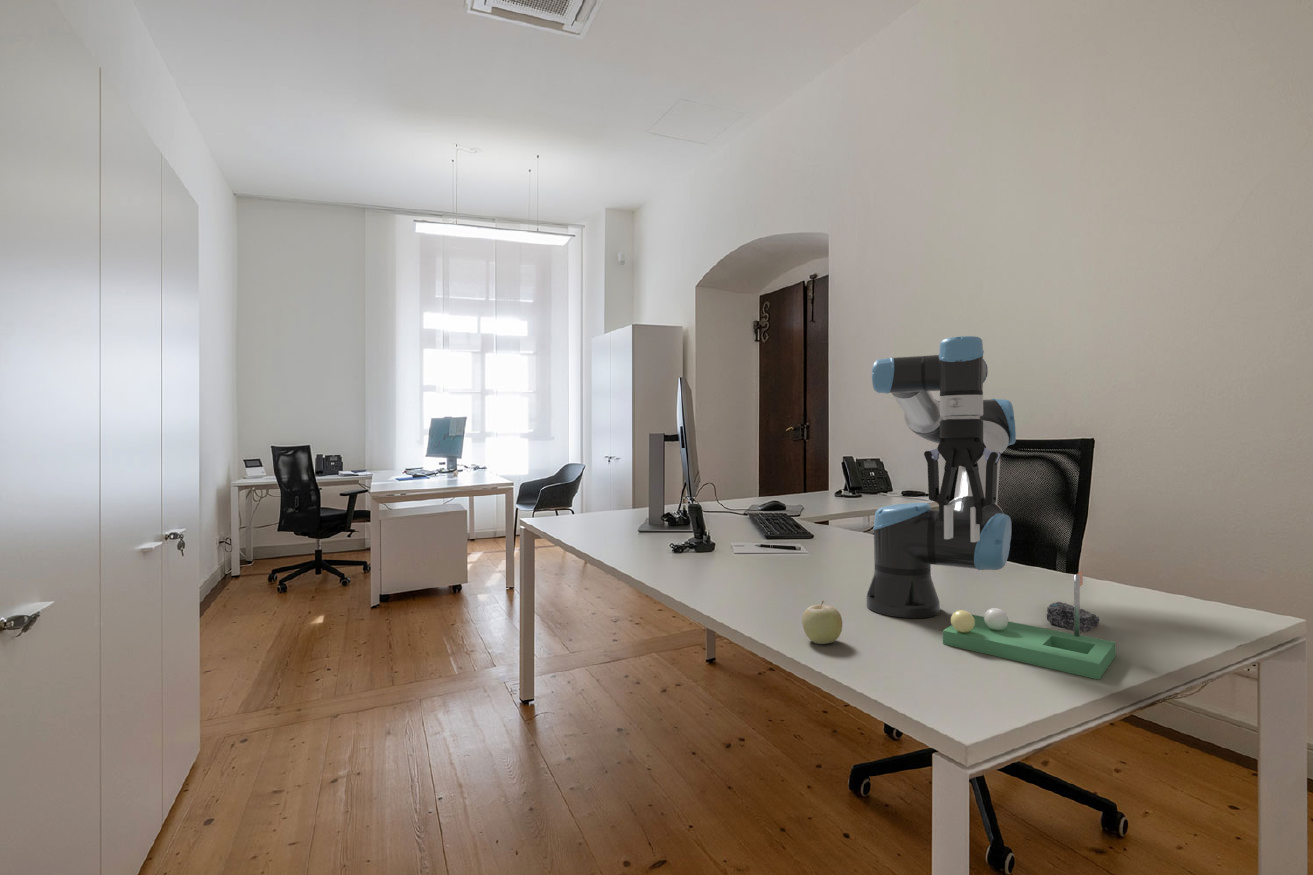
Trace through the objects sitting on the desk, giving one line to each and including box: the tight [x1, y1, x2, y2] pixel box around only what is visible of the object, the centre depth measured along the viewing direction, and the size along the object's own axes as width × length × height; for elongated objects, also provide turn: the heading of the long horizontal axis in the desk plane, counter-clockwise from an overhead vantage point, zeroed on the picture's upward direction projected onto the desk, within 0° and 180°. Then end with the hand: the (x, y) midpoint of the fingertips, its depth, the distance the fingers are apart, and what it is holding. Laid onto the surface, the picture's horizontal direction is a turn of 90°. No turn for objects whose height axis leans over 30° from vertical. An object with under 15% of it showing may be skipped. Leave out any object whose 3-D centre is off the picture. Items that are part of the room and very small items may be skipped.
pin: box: [1073, 570, 1084, 637], centre depth 113 cm, size 1×4×11 cm, turn 135°
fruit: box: [801, 600, 843, 645], centre depth 118 cm, size 8×7×8 cm
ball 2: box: [983, 607, 1009, 630], centre depth 115 cm, size 4×4×4 cm
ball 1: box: [950, 609, 975, 633], centre depth 114 cm, size 4×4×4 cm
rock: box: [1046, 601, 1100, 633], centre depth 127 cm, size 8×10×4 cm
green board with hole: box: [942, 613, 1117, 681], centre depth 112 cm, size 24×14×2 cm, turn 45°
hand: (961, 539), depth 120 cm, fingers open, 4 cm apart
